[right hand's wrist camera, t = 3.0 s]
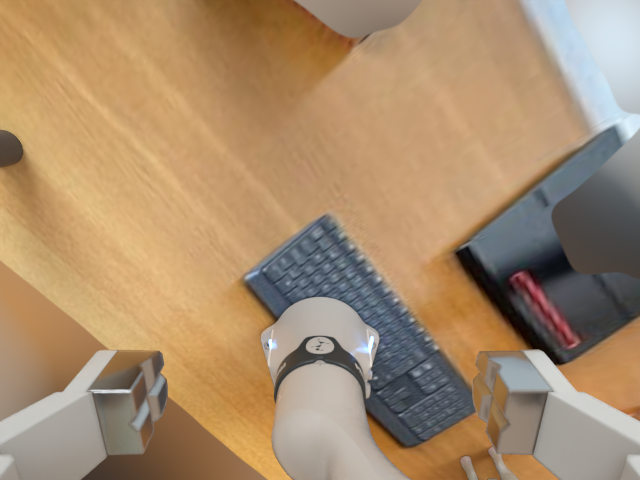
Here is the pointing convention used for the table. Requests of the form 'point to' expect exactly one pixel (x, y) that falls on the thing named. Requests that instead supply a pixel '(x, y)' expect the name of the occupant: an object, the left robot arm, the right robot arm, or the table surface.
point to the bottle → (9, 149)
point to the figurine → (505, 474)
